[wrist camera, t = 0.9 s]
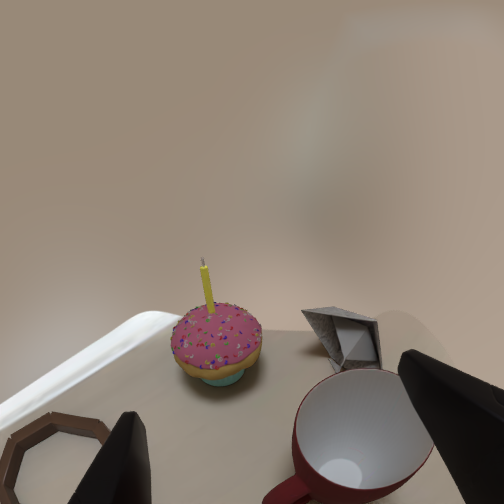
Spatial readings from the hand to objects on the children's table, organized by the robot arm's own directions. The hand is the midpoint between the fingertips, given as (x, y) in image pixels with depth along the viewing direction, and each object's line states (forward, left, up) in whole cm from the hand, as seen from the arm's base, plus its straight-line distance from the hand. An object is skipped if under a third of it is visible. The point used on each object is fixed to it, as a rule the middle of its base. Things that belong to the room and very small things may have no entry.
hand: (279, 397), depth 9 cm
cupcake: (+15, +4, -17) cm, 23 cm away
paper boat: (+14, -8, -17) cm, 23 cm away
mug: (+1, -4, -17) cm, 17 cm away
